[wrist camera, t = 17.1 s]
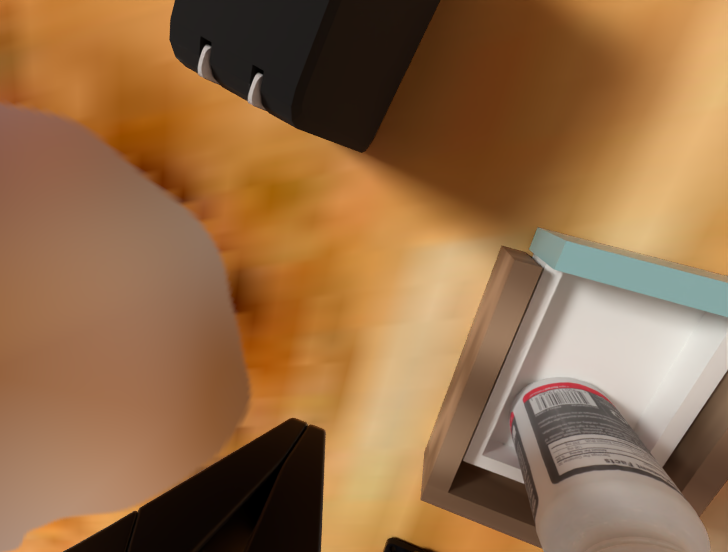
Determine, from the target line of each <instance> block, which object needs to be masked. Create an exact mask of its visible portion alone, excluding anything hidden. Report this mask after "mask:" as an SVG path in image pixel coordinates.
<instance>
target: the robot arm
mask: <svg viewBox="0 0 728 552" xmlns="http://www.w3.org/2000/svg"><path fill="white" fill-rule="evenodd" d="M325 435H326V432H325V430H324V429H322V428H319V427H317V426H314V425H309V426H308V424H307V423H306V422H304V421H301V420H299V419H296V418H290V419H288V420H287V421H285V422H283V423H282V424H280V425H278V426H277V427H275V428H273V429H272V430H270V431H268V432H267V433H265V434H263V435H262V436H260V437H258V438H257V439H255V440H253V441H251V442H250V443H248V444H246V445H245V446H243V447H241V448H240V449H238V450H236V451H235V452H233V453H231V454H230V455H228V456H226V457H225V458H223V459H221V460H220V461H218V462H216V463H214V464H213V465H211V466H209V467H208V468H206V469H204V470H203V471H201V472H199V473H198V474H196V475H194V476H193V477H191V478H189V479H188V480H186V481H184V482H183V483H181V484H179V485H177V486H176V487H174V488H172V489H171V490H169V491H167V492H166V493H164V494H162V495H161V496H159V497H157V498H156V499H154V500H152V501H151V502H149V503H147V504H146V505H144V506H142V507H141V508H139V510H138V512H137V511H133V512H132V513H130V514H128V515H127V516H125V517H123V518H122V519H120V520H118V521H117V522H115V523H113V524H112V525H110V526H108V527H106V528H105V529H103V530H101V531H99V532H97V533H96V534H94V535H92V536H90V537H89V538H87V539H85V540H83V541H82V542H80V543H78V544H76V545H75V546H73V547H71V548H69V549H67V550H65V551H63V552H321V536H322V511H323V486H324V461H325ZM383 552H425V551H423V550H420V549H418V548H416V547H413V546H411V545H409V544H406V543H404V542H401V541H399V540H397V539H394V538H389V539H388V540H387V542H386V545H385V547H384V550H383Z"/></svg>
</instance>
